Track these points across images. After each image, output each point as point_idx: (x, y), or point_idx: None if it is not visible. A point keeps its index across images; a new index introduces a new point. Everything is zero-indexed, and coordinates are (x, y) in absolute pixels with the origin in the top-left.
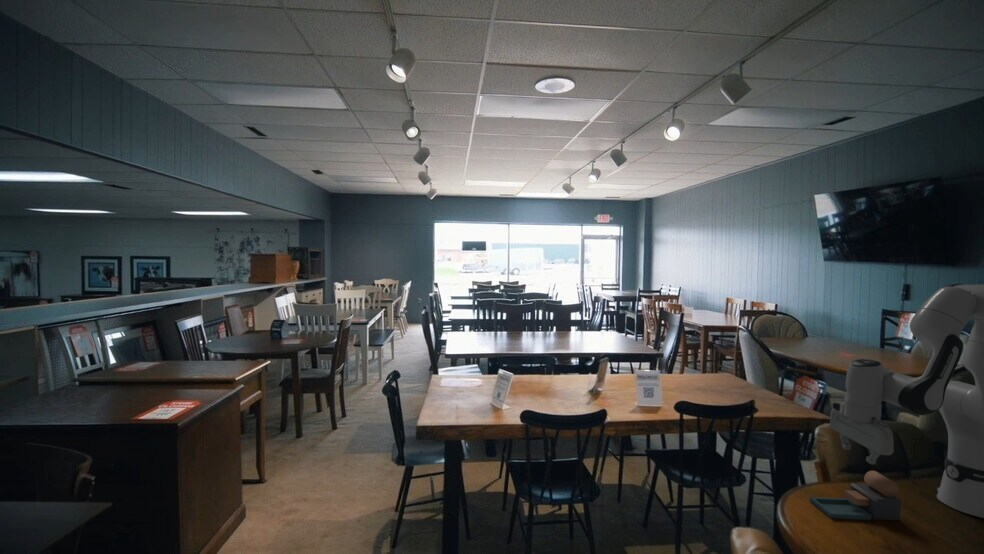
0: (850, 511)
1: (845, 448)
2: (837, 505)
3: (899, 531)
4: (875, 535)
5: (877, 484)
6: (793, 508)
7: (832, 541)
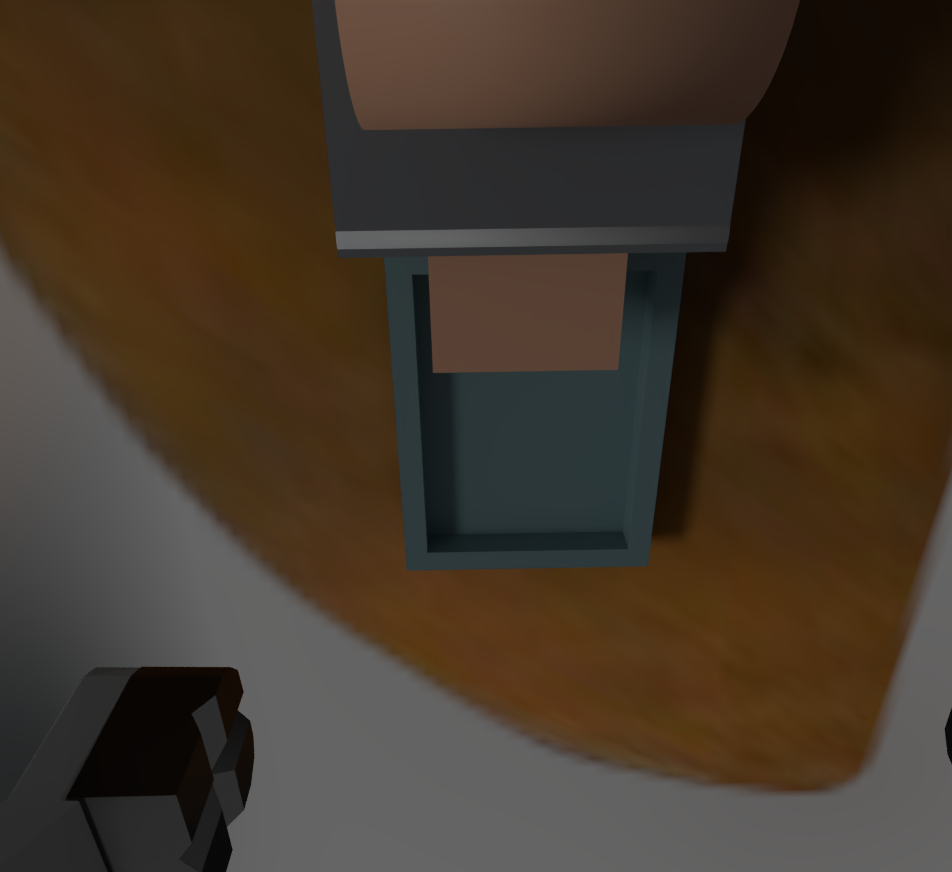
0: None
1: (246, 790)
2: (466, 387)
3: (855, 82)
4: (862, 361)
5: (637, 122)
6: (505, 681)
7: (861, 667)
